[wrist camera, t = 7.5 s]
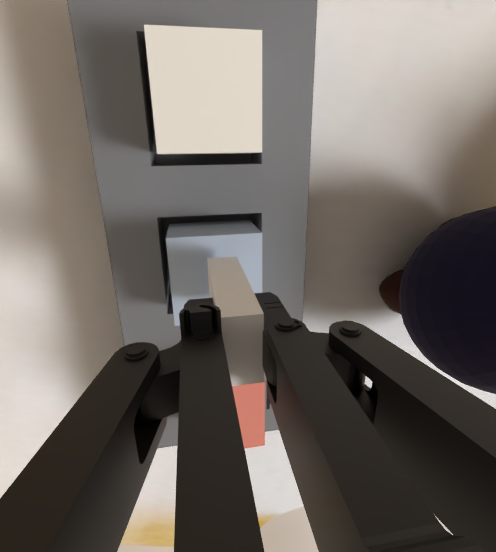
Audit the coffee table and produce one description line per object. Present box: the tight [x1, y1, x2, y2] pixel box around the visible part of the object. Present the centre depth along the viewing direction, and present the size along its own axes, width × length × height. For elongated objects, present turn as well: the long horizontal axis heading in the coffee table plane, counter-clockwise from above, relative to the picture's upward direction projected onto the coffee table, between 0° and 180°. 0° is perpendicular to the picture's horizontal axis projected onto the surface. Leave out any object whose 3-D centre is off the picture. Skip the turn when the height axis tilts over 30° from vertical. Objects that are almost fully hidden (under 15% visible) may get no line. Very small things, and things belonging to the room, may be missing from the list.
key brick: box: [232, 381, 265, 448], centre depth 22 cm, size 5×5×4 cm
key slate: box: [166, 220, 262, 326], centre depth 20 cm, size 5×5×4 cm
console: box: [67, 0, 317, 448], centre depth 22 cm, size 28×12×4 cm, turn 1°
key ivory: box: [144, 25, 262, 155], centre depth 17 cm, size 5×5×4 cm
